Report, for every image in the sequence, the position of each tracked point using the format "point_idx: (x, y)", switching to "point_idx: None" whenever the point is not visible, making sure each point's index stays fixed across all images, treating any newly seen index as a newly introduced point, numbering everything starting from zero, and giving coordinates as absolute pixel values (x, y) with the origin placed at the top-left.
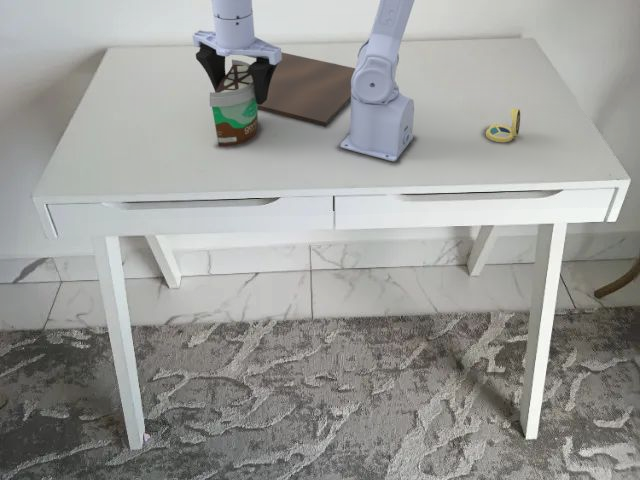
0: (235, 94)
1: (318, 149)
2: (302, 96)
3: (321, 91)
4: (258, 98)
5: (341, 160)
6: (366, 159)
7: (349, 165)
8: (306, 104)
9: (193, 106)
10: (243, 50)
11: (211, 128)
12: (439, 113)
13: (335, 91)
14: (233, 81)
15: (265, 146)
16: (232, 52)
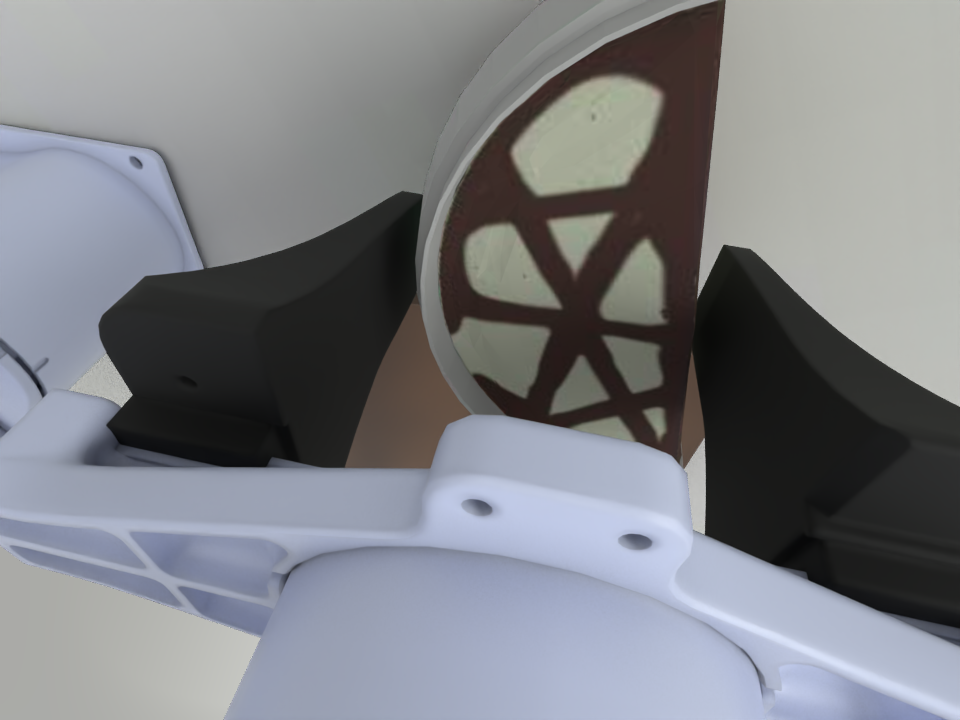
0: (486, 119)
1: (220, 116)
2: (455, 401)
3: (416, 428)
4: (385, 204)
5: (91, 63)
6: (36, 106)
7: (38, 35)
8: (419, 365)
9: (905, 293)
10: (255, 529)
11: (770, 134)
12: (110, 385)
13: (379, 432)
14: (597, 311)
15: (431, 58)
16: (410, 497)
